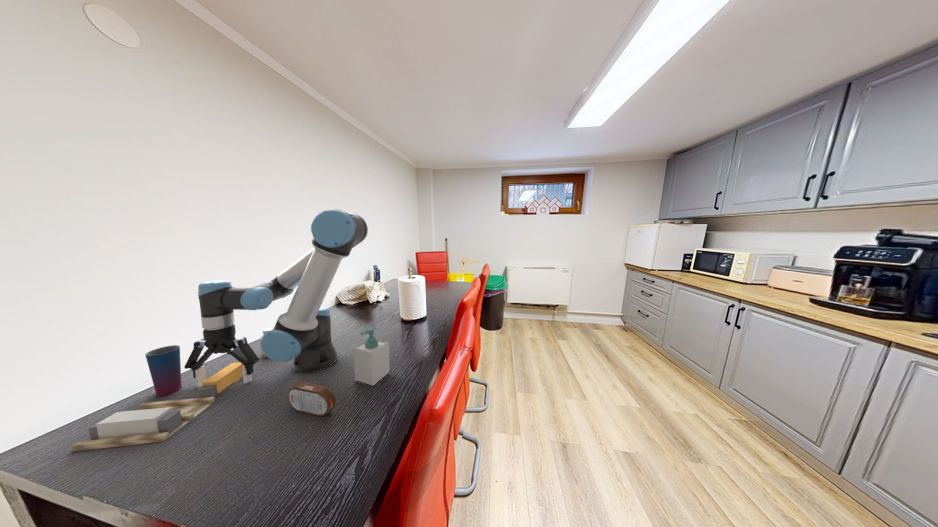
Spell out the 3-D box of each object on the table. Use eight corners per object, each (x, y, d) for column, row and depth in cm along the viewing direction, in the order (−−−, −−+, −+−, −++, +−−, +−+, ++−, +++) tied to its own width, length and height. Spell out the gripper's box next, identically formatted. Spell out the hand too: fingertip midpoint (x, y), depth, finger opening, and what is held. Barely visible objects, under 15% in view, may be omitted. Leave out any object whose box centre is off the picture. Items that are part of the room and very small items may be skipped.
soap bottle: (354, 381, 85) (351, 331, 83) (372, 368, 94) (370, 322, 91) (372, 387, 82) (370, 335, 80) (389, 373, 90) (388, 326, 88)
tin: (337, 412, 71) (335, 386, 70) (328, 420, 68) (327, 393, 67) (296, 403, 74) (294, 378, 73) (286, 410, 71) (284, 384, 70)
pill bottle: (261, 359, 99) (259, 333, 97) (262, 353, 104) (259, 328, 102) (281, 355, 103) (279, 329, 101) (281, 349, 108) (279, 325, 106)
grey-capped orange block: (238, 372, 90) (236, 359, 89) (250, 371, 91) (248, 359, 90) (198, 401, 74) (196, 386, 74) (212, 400, 75) (211, 385, 74)
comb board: (215, 403, 74) (214, 396, 73) (164, 443, 59) (163, 435, 59) (145, 409, 71) (144, 402, 70) (73, 454, 56) (71, 445, 56)
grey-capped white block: (183, 422, 65) (180, 406, 64) (167, 435, 61) (164, 417, 60) (110, 430, 62) (107, 412, 62) (89, 443, 58) (85, 425, 58)
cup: (162, 402, 74) (154, 356, 72) (146, 398, 75) (139, 354, 73) (191, 388, 80) (185, 346, 79) (176, 385, 82) (170, 344, 80)
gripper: (268, 320, 86) (272, 375, 88) (186, 323, 81) (193, 380, 84) (253, 328, 78) (258, 388, 81) (162, 332, 74) (170, 394, 77)
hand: (225, 384), depth 82 cm, fingers open, 13 cm apart
